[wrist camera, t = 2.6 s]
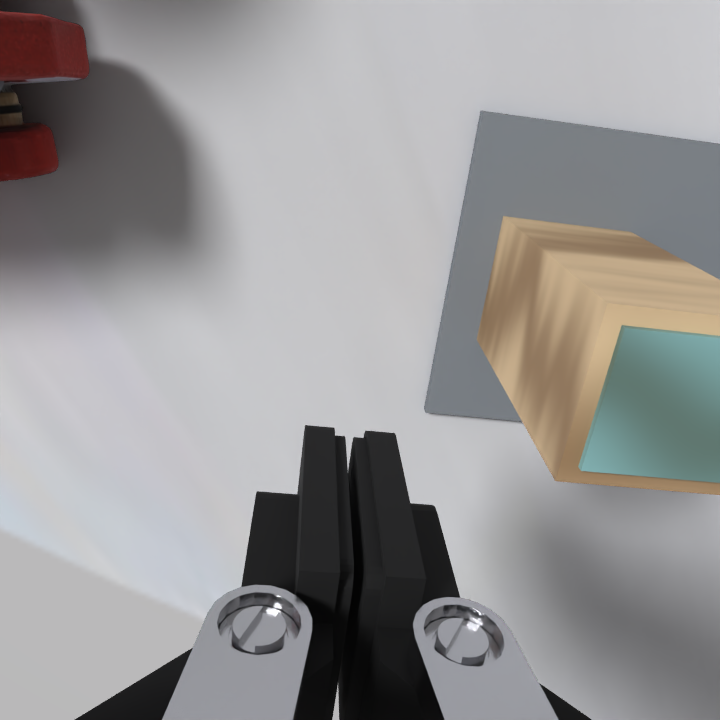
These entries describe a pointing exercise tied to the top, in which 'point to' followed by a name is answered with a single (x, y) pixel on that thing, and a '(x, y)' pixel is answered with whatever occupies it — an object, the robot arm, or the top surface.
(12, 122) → the toy fire truck
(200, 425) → the top surface
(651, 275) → the oak block
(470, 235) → the mat
